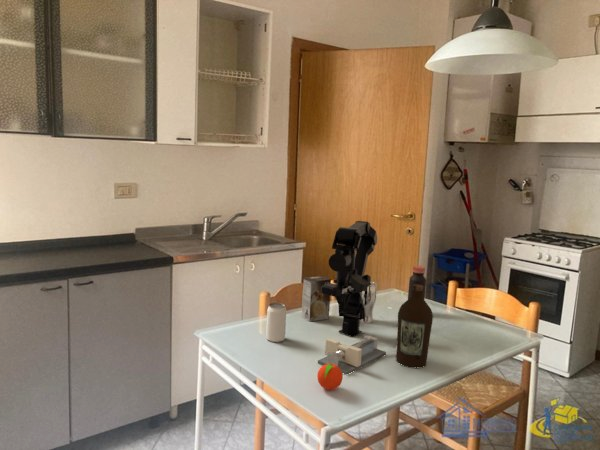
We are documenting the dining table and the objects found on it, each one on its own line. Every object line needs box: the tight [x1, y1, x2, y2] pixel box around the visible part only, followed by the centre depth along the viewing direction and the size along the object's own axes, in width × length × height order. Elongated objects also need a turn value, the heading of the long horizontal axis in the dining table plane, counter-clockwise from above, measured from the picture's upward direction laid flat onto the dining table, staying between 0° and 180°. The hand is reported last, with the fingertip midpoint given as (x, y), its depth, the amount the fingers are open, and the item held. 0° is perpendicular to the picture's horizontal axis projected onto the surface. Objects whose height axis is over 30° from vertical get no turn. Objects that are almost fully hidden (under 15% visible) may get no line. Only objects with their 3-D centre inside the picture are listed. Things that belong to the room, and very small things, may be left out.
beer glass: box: [360, 281, 378, 324], centre depth 193 cm, size 7×7×15 cm
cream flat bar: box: [324, 337, 362, 367], centre depth 151 cm, size 2×12×5 cm, turn 50°
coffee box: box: [301, 275, 332, 322], centre depth 193 cm, size 9×6×16 cm
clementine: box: [316, 363, 343, 391], centre depth 135 cm, size 8×7×7 cm
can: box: [265, 302, 287, 343], centre depth 169 cm, size 6×6×12 cm
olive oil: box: [395, 284, 434, 369], centre depth 155 cm, size 11×11×25 cm
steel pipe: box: [326, 335, 379, 367], centre depth 156 cm, size 22×4×4 cm, turn 140°
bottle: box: [407, 265, 427, 301], centre depth 205 cm, size 7×7×20 cm
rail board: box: [317, 343, 387, 375], centre depth 156 cm, size 22×11×1 cm, turn 140°
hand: (342, 310), depth 166 cm, fingers closed
